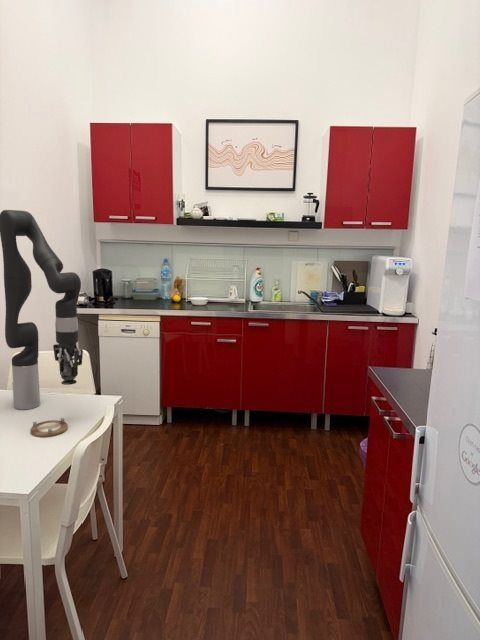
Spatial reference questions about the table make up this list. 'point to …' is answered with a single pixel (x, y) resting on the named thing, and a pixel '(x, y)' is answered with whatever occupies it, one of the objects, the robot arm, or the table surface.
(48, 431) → the pin holder
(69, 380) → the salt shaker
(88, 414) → the table surface
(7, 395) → the table surface
